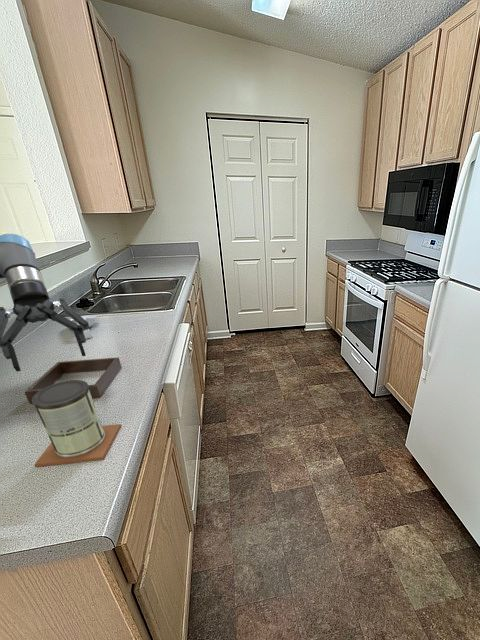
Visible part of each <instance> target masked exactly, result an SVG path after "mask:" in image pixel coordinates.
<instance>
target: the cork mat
mask: <svg viewBox="0 0 480 640" xmlns="http://www.w3.org/2000/svg"><path fill="white" fill-rule="evenodd" d="M102 428H103V430H104V432H105V438H104V440H103V441H102V443H101V444H100V445H98V446H97V447H96V448H94V449H93V450H91V451H89V452H87V453H85V454H82V455H79V456H74V457H61V456H59V455H57V454H56V452H55V449H54V447H53V445H52V443H51V442H50V443H49V445H48V446H47V447H46V449H45V450H44V451H43V453H42V454H41V455H40V456H39V458H38V459H36V461H35V463H34V464H33V465H34V467H35V468H40V467H49V466H59V465H67V464H76V463H85V462H93V461H103V460H104V461H105V458H106V456H107V455H108V452H109V451H110V448H111V447H112V445H113V443H114V441H115V439H116V438H117V435H118V434H119V431H120V429H121V428H122V424H121V423H117V424H107V425H102Z"/></svg>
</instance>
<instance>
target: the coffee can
mask: <svg viewBox="0 0 480 640" xmlns="http://www.w3.org/2000/svg"><path fill="white" fill-rule="evenodd" d="M88 385H89V384H88V382H87V381H85V380H80V379H70V380H63V381H59V382H55V383H54V384H52V385H50V386H47V387H45V388H43V389H41V390H40V391H38V392H37V393H36V394H35V395H34V396H33V397H32V403H33V404H32V405H34V407H35V410H36V412H37V414H38V416H39V419H40V421H41V422H42V425H43V427H44V429H45V431H46V434H47V436H48V438H49V441H50V444H51V443H52V445H53V447H54V449H55V452H56V454H57V455H59V456H61V457H74V456H79V455H82V454H85V453H87V452H89V451H91V450H93V449H94V448H96V447H97V446H98V445H100V444H101V443H102V441H103V440H104V438H105V432H104V430H103V428H102V426H103V425H102V423H101V420H100V417H99V414H98V412H97V409H96V405H95V403H94V400H93V398H92V397H91V394H90V391H89V386H88Z"/></svg>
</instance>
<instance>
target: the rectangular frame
mask: <svg viewBox="0 0 480 640" xmlns="http://www.w3.org/2000/svg"><path fill="white" fill-rule="evenodd" d="M122 367H123V366H122V364H121V360H120V357H119V356H118V357H105V358H94V359H93V358H92V359H78V360H64V361H57V362H56V363H55V364H54V365H52V367H50V368H49V369H48V370H47V371H46V372H45V373H44V374H43V375H41V376H40V377H39V378H38V379H37V380H36V381H35V382H34V383H32V385H30V386H29V387H28V388H27V389H26V390H25V391H24V395H25V396H26V398H27V401H28V403H29V404H30V405H34V404H33V403H32V397H33V396H34V395H35V394H36V393H37V392H38V391H40V390H41V389H43V388H45V387H47V386H50V385H52V384H55V383H57V381H58V380H59V379H60V378H62V376H63V375H64V374H76V373H87V372H101V371H104V372H103V373H102V374H101V375H100V377H99V378H98V380H97V381H96V382H95V383H94V384H88V386H89V391H90V394H91V397H92V399H100V398H102V396H103V395H104V394H105V393H106V391H107V389H108V388H109V386H110V385H111V383H113V381H114V379H115V378H116V377H117V376H118V374H119V373H120V371H121V370H122Z"/></svg>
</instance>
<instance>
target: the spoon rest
mask: <svg viewBox="0 0 480 640" xmlns="http://www.w3.org/2000/svg"><path fill="white" fill-rule="evenodd" d="M81 317H82V318H83V319H85V320H86V321H87V322H88V324H89V329H88V330H84V331H83V333H84V336H85V339H91V338H93V337H94V336H93V333H92V331H91V330H90V328H91V327H92V326H94V324H95V323H96V321H97V319H98V317H97V315H94V314H92V315H90V314H89V315H81ZM69 320H71V321H73V322H75V323H76V324H78V323H77V322H76V321H75V320H73V319H72V318H69ZM78 325H79V324H78Z"/></svg>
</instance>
